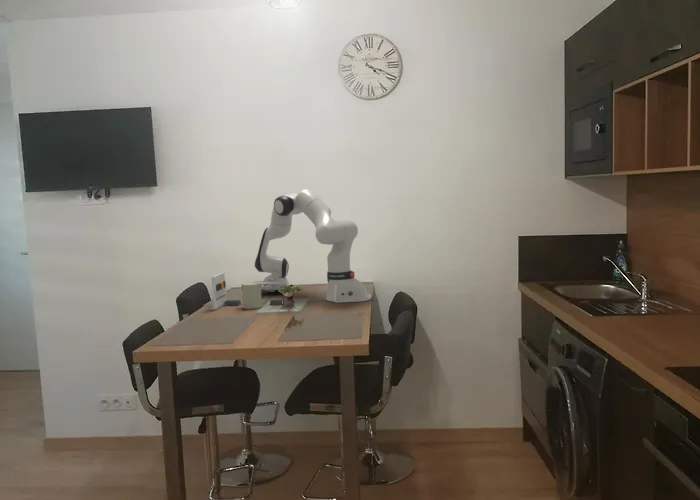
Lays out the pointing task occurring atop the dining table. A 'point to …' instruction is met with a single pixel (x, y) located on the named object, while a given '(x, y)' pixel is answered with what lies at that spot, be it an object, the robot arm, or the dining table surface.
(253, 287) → the can
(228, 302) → the cover
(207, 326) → the dining table surface
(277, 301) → the cover
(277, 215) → the robot arm
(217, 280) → the panel
